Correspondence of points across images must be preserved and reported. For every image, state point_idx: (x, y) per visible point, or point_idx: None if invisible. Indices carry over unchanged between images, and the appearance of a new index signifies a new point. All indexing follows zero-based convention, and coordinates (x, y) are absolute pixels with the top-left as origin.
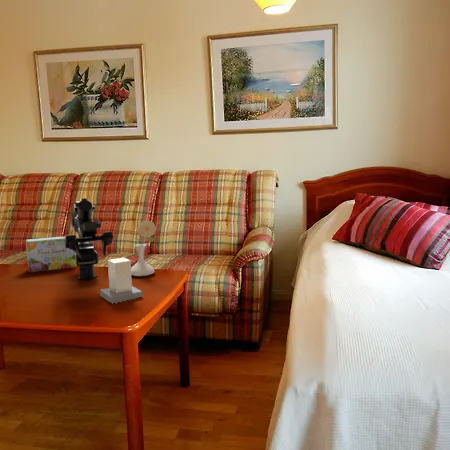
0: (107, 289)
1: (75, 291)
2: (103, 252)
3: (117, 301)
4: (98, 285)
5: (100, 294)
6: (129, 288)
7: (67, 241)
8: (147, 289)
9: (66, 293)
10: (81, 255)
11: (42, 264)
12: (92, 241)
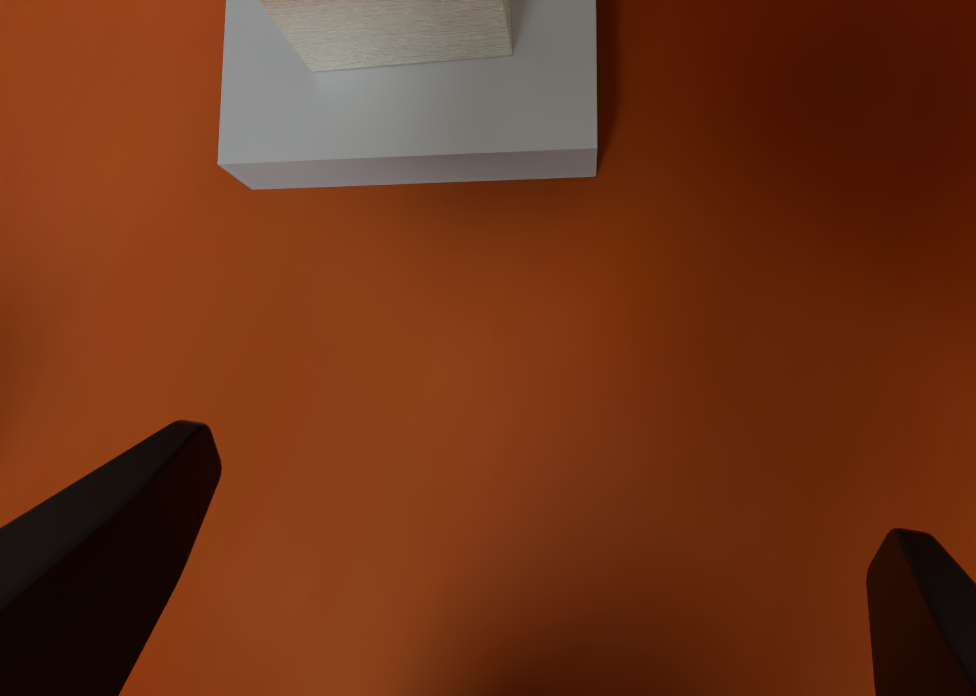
0: (516, 105)
1: (799, 540)
2: (160, 545)
3: None
4: (461, 607)
5: (596, 164)
6: None
7: None
8: (98, 97)
9: (929, 529)
10: (922, 568)
11: None
12: None
